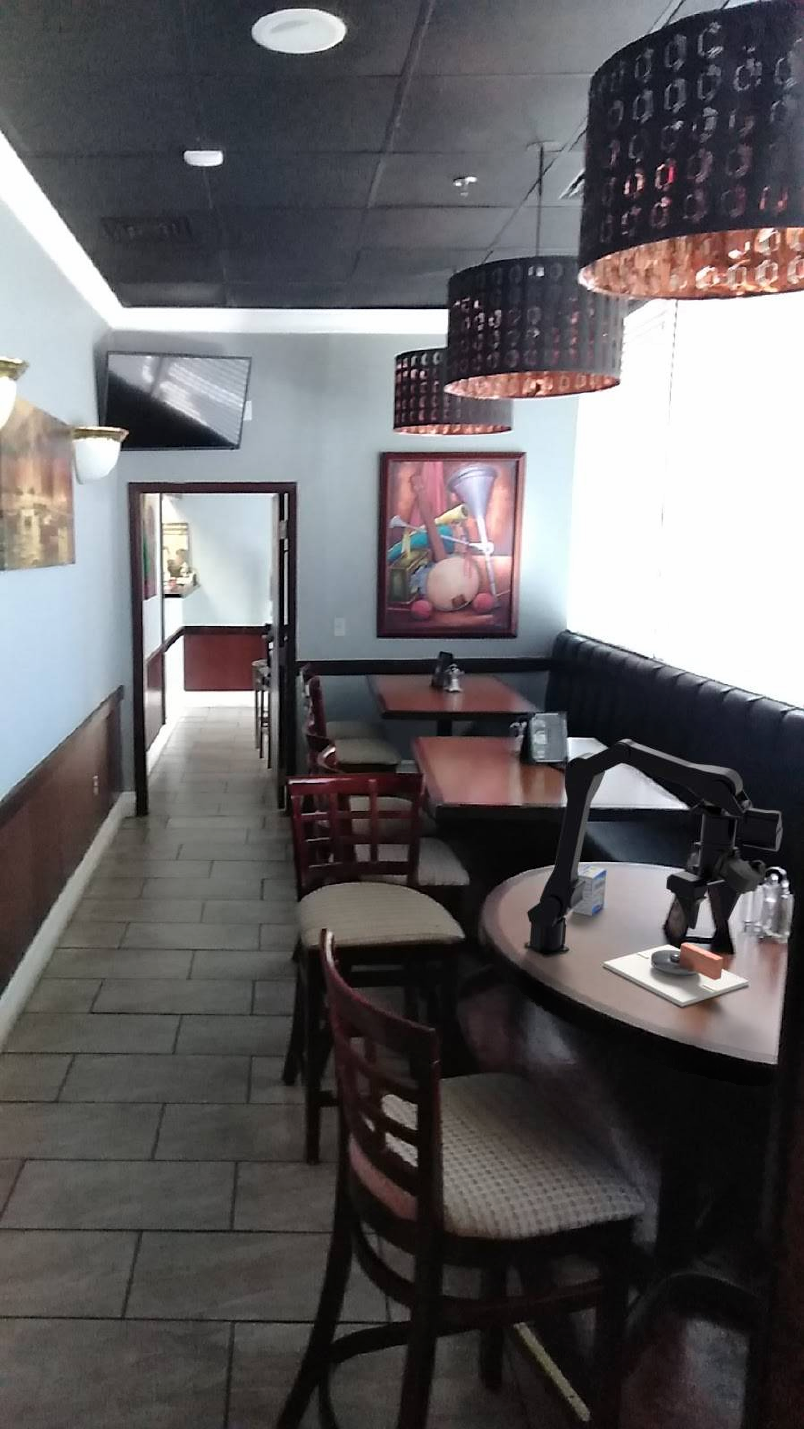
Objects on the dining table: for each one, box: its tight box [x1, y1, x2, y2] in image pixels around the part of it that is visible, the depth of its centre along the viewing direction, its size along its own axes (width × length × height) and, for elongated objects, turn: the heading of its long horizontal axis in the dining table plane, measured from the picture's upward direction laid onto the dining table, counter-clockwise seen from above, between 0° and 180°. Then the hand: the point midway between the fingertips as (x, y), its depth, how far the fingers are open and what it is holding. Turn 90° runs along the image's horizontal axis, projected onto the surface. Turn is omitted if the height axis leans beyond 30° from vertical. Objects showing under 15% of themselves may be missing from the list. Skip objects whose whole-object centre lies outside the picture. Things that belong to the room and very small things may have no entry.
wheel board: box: [603, 944, 749, 1008], centre depth 186 cm, size 18×19×2 cm
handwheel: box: [651, 942, 724, 980], centre depth 184 cm, size 9×14×5 cm, turn 34°
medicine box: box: [572, 865, 607, 917], centre depth 218 cm, size 8×4×9 cm, turn 148°
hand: (709, 924), depth 179 cm, fingers open, 9 cm apart
